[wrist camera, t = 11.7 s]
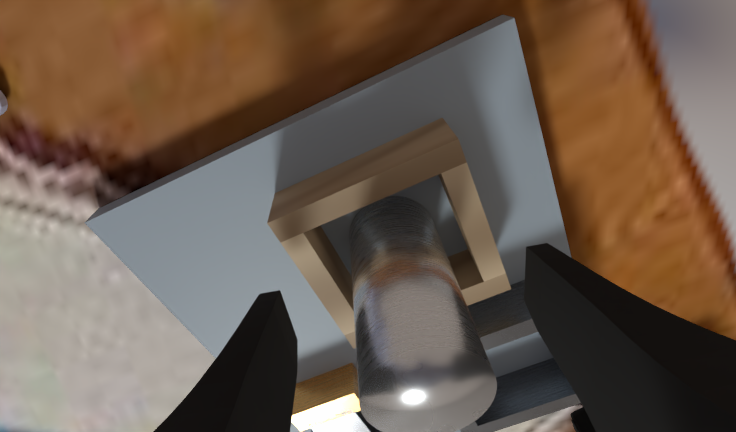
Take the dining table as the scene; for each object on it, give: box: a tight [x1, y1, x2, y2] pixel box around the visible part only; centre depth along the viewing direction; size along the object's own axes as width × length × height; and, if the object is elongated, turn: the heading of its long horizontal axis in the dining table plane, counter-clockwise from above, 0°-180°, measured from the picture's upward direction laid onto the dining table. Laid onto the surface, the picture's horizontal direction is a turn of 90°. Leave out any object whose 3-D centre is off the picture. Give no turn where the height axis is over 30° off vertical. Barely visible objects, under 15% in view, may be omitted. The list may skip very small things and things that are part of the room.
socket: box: [311, 280, 581, 432], centre depth 19 cm, size 9×13×2 cm
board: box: [85, 15, 572, 432], centre depth 18 cm, size 19×16×1 cm
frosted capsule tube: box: [349, 196, 497, 432], centre depth 13 cm, size 3×3×7 cm
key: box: [291, 363, 382, 432], centre depth 20 cm, size 6×3×2 cm, turn 24°
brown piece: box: [267, 118, 511, 349], centre depth 15 cm, size 6×6×2 cm
